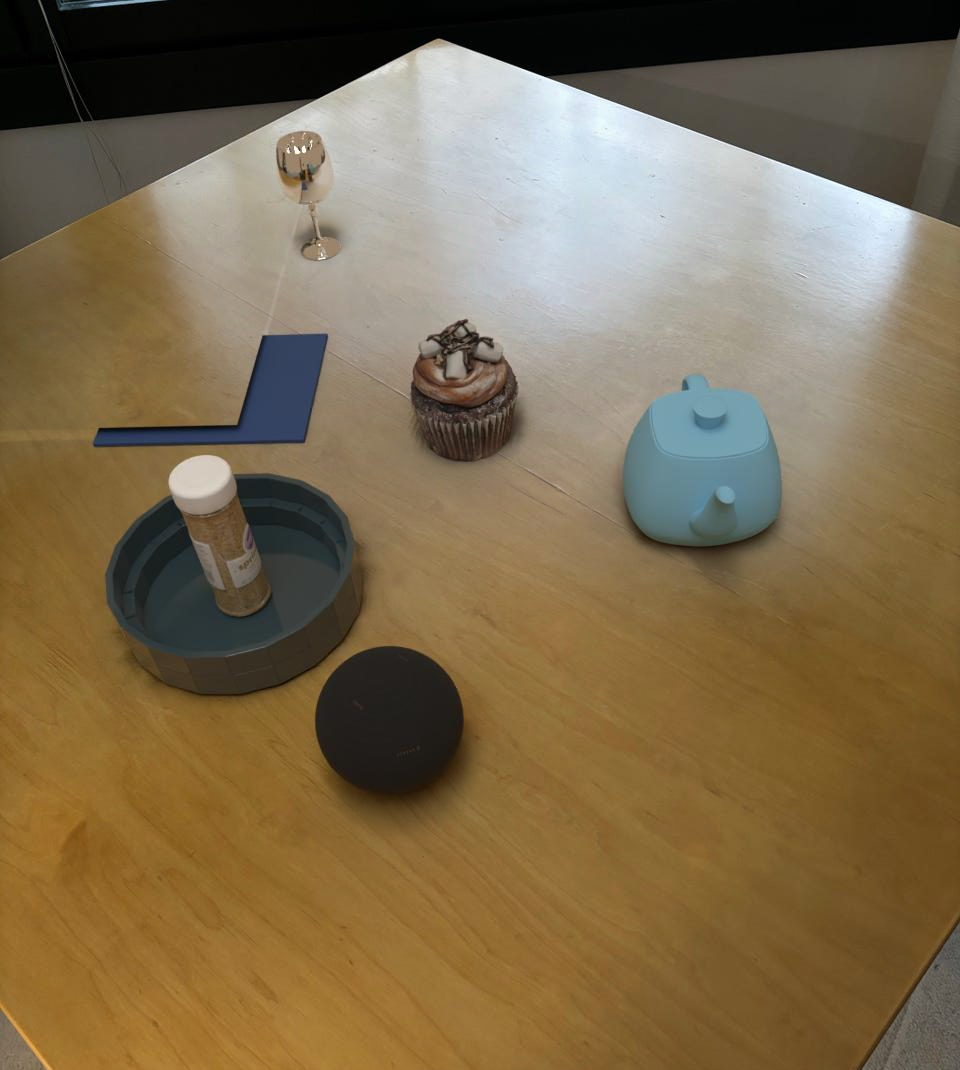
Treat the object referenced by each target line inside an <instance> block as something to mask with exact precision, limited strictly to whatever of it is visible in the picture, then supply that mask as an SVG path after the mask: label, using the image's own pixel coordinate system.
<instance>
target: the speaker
mask: <svg viewBox="0 0 960 1070" xmlns="http://www.w3.org/2000/svg"><path fill="white" fill-rule="evenodd" d="M464 719H465V717H464V707H463V702H462V699H461V695H460V693H459V690H458V688H457V686H456V684H455V682H454V681H453V679H452V677H451V676H450V675H449V674H448V672H447V671H446V670H445V669H444V668H443V667H442V666H441V665H440V664H439V663H438V662H437V661H435V660H434V659H433V658H431V657H430V656H428V655H426V654H424V653H422V652H420V651H417V650H415V649H412V648H409V647H404V646H397V645H382V646H376V647H375V646H374V647H370V648H367V649H365V650H362V651H359V652H357V653H355V654H353V655H351V656H350V657H348V658H347V659H345V660H344V661H343V662H341V663H340V664H339V665H338V666H337V667H336V668H335V669H334V670H333V671H332V673H330V675H329V676H328V678H327V679H326V681H325V683H324V685H323V686H322V688H321V690H320V693H319V696H318V698H317V701H316V706H315V712H314V729H315V734H316V740H317V743H318V746H319V749H320V751H321V754H322V755H323V757H324V759H325V761H326V762H327V764H328V765H329V766H330V767H331V769H332V770H333V771H334V772H335V774H337V775H338V776H339V777H340V778H341V779H343V780H344V781H345V782H347V783H348V784H350V785H351V786H354V787H355V788H357V789H360V790H362V791H365V792H368V793H373V794H377V795H387V796H388V795H390V796H391V795H401V794H407V793H411V792H413V791H416V790H418V789H420V788H423V787H424V786H426V785H428V784H429V783H431V782H432V781H434V780H436V778H438V777H439V776H440V775H441V774H442V773H443V772H444V771H445V770H446V768H447V767H448V766H449V765H450V763H451V762H452V761H453V760H454V757H455V755H456V754H457V751H458V749H459V747H460V744H461V741H462V737H463V731H464V722H465V721H464Z"/></svg>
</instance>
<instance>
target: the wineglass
mask: <svg viewBox="0 0 960 1070" xmlns="http://www.w3.org/2000/svg"><path fill="white" fill-rule="evenodd" d="M275 146H276V148H275V165H276V175H277V180H278V183H279V186H280V189H281V191H282V193H283V195H284V196H285V197H286V198H287V199H289V200H290V201H291V202H293V203H295V204H297V205H298V204H299V205H304V206H307V212H308V215H309V216H310V219H311V221H312V224H313V227H314V232H315V237H314V238H312V239H309V240H308V241H306V242H305V243H303V244H302V245H301V247H300V254H301V256H302V257H304V258H305V259H307V260H310V261H325V260H327V259H331V258H332V257H334V256H336V255H337V254H338V253H340V250H341V248H342V245H341V243H340V241H339V240H338V239H336V238H334V237H330V236H329V237H328V236H321V232H320V228H319V222H318V214H319V208H318V207H317V204H318V203H320V202H322V201H324V200H325V199H326V198H327V197H328V196H329V195H330V193H331V191H333V187H334V180H335V179H334V178H335V177H334V168H333V164H332V161H331V158H330V155H329V152H328V149H327V147H326V145H325V143H324V140H323V138H322V136H321V135H320V134H319V133H317V132H314V131H309V130H299V131H293V132H290V133H287V134H284V135H283V136H281V137H280V138H279V139H278V140H277V142H276V144H275Z"/></svg>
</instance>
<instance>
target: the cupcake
mask: <svg viewBox="0 0 960 1070" xmlns="http://www.w3.org/2000/svg"><path fill="white" fill-rule="evenodd" d="M418 350H419V355H418V356H417V358H416V361H415V363H414V365H413V368H412V381H411V382H410V393H409V396H410V397H409V399H410V405H411V407H412V409H413V412H414V414H415V416H416V418H417V421H418V423H419V425H420V428H421V431H422V434H423V436H424V438H425V441H426V443H427V445H428V447H429V449H430V450H432V451H433V452H435V453H436V455H438V456H439V457H442V458H443V459H447V460H451V461H454V462H472V461H473V462H474V461H479V460H481V459H484V458H488V457H491V456H493V455H495V454H496V453H497V452H499V451H500V450H501V449H502V447H503V446H505V445H506V443H507V442H508V441H509V439H510V435H511V432H512V423H513V417H514V410H515V406H516V402H517V399H518V395H519V387H520V386H519V381H518V380H516V377H517V376H516V375H515V373H514V370H513V368H512V367H511V365H510V364H509V362H508V360H506V357H505V356H504V355H503V354H504V347H503V345H502V344H501V343H498V342H495V341H494V338H492V337H491V336H487V335H486V336H485V335H484V336H480V333H479V332H477V326H475V324H474V323H473V322H469V319H468V318H465V319H462V320H459V319H458V320H457V321H455V322H454V323H451V324H450V325H448V326H446V327H445V328H444V329H443V330H442V331H441V332H440V333H434V334H433V333H432V334H429V335H428V336H427V338H426V339H424V340H421V341H419V342H418Z"/></svg>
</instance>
